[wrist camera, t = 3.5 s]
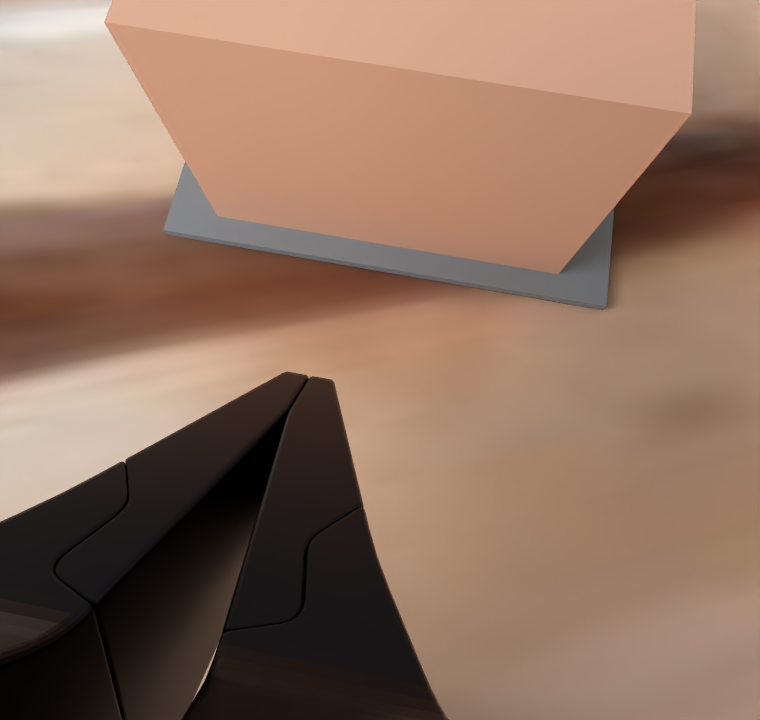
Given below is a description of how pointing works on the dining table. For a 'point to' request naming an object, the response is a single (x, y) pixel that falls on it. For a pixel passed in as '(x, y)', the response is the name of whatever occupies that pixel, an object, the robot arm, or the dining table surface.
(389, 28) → the t block
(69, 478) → the dining table surface
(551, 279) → the mat
